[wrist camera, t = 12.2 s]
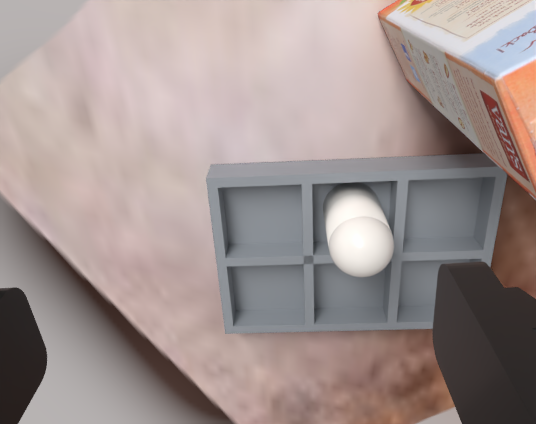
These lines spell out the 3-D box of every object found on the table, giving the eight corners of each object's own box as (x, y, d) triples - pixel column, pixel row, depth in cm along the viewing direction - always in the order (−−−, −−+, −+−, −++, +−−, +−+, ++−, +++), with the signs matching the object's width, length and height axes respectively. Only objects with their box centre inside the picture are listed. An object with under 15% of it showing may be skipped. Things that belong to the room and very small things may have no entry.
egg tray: (494, 152, 38) (508, 166, 36) (468, 307, 45) (479, 327, 42) (210, 164, 39) (206, 178, 37) (228, 313, 46) (225, 333, 44)
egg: (380, 180, 39) (402, 231, 31) (377, 230, 41) (398, 289, 33) (322, 182, 39) (331, 234, 32) (322, 232, 41) (331, 291, 34)
